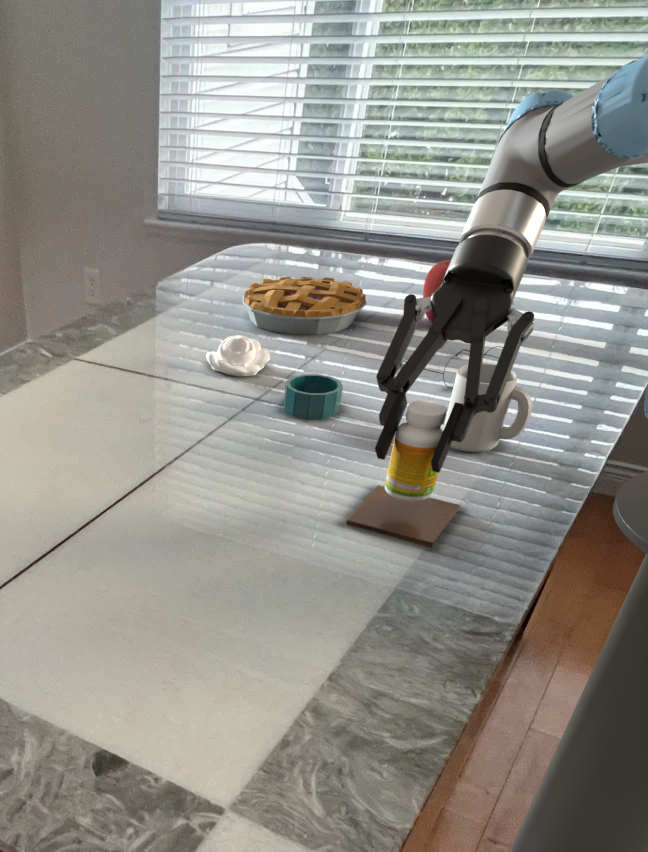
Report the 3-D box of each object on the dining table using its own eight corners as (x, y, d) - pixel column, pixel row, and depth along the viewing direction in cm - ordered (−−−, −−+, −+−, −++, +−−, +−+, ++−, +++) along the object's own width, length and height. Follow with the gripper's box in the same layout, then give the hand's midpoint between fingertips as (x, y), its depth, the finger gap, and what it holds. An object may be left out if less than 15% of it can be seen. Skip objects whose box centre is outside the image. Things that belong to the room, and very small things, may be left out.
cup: (450, 426, 116) (466, 359, 110) (526, 441, 111) (547, 373, 105) (433, 445, 111) (450, 377, 105) (511, 462, 107) (533, 392, 101)
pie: (229, 332, 147) (231, 302, 143) (253, 296, 162) (255, 267, 159) (357, 342, 141) (362, 310, 138) (369, 303, 156) (374, 274, 153)
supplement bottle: (428, 506, 93) (450, 420, 86) (379, 497, 95) (397, 413, 88) (436, 485, 97) (457, 401, 90) (388, 477, 98) (406, 394, 92)
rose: (268, 326, 135) (275, 347, 128) (265, 354, 138) (272, 376, 131) (206, 327, 136) (209, 348, 129) (204, 356, 139) (208, 378, 132)
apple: (471, 315, 150) (486, 253, 143) (475, 333, 143) (491, 268, 136) (416, 313, 152) (428, 251, 145) (417, 330, 145) (430, 266, 138)
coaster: (459, 509, 99) (460, 504, 98) (432, 547, 93) (433, 542, 92) (377, 489, 103) (377, 484, 102) (345, 524, 97) (346, 519, 96)
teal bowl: (346, 404, 122) (350, 380, 120) (325, 423, 118) (329, 398, 115) (297, 394, 126) (300, 370, 123) (274, 412, 121) (277, 388, 119)
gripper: (582, 285, 88) (494, 493, 89) (410, 263, 96) (332, 455, 97) (589, 241, 81) (495, 466, 83) (404, 221, 89) (320, 427, 90)
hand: (407, 460), depth 90 cm, fingers closed on supplement bottle, 5 cm apart
